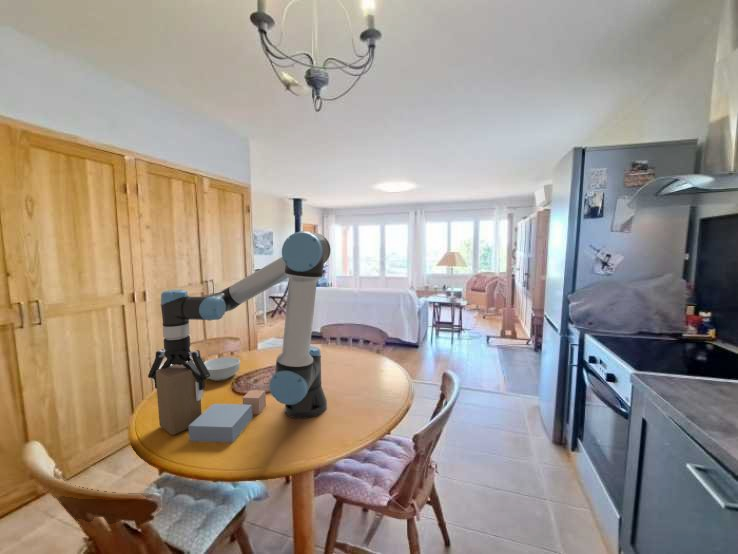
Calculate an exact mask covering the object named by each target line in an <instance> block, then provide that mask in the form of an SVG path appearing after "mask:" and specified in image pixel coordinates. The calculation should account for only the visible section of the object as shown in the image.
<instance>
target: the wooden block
mask: <svg viewBox="0 0 738 554" xmlns="http://www.w3.org/2000/svg"><path fill="white" fill-rule="evenodd" d="M160 368H161V367H160ZM160 368H159V369H158V370H156V384H157V389H156V395H157V397H158V398H157V397H156V398H157V409H158V422H159V427H161V428H162V429H164V430H165V432H167V433H168V434H170V435H172V436H173V435H174V436H175V435H177V434H179V433H181V432H184V431H186V430H189V427H188V426H189V425H190V424H191V423H192V422H193V421H194V420H196V419H197V418H198V417H199V416H200V415H201V414H202V413H203V412H202V398H201V399H200V400H199V401H196V385H195V382H196V381H197V379H196V378H195V377H194V376H193V375H192V371H191V370H190V369H187V368H186V367H184V366H183V365H177V364H176V365H172V364H171V365H170V366H168V367H167V368H161V369H160ZM195 369H196V370H198V369H197V367H196V368H195Z"/></svg>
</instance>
